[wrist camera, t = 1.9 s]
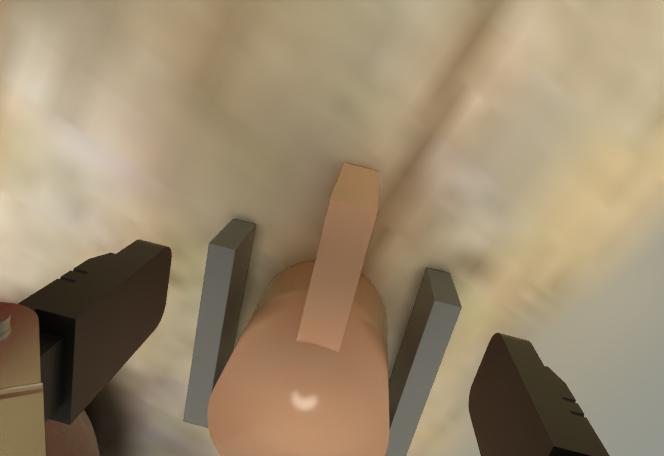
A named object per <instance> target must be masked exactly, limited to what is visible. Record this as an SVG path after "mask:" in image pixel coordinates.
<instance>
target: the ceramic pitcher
mask: <svg viewBox="0 0 664 456" xmlns="http://www.w3.org/2000/svg"><path fill="white" fill-rule="evenodd" d="M44 425H45V451H46V456H100V454H99V449H98V444H97V440H96V436H95V433H94V429H93V426H92V424H91V421H90V420H89V418H88V416H87V414H86V412H85V410H83V411H82V412H81V414H80V415H79V416H78V417H77V418H76V419H75V420H74V421H73V423H72V424H71V425H68V424H64V423H61V422H57V421H53V420H49V419H47V420H46V421H45V422H44Z"/></svg>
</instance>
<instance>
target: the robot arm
mask: <svg viewBox="0 0 664 456" xmlns="http://www.w3.org/2000/svg"><path fill="white" fill-rule="evenodd" d="M171 257H172V253H171V249H170V248H169V247H167V246H163V245H159V244H155V243H151V242H147V241H143V240H136V241H135V242H133V243H132V244H130V245H129V246H127V247H126V248H124V249H123V250H121V251H120V252H118V253H117V254H113V253H108V254H105V255H101V256H98V257H94V258H91V259H88V260H87V261H85V262H83V263H82V264H80V265H79V266H77V267H75V268H74V270H73V271H69V272H68V273H66V274H64V275H63V276H61V278H60V279H56V280H55V281H53V282H52V283H50V284H48V285H47V286H45V287H44V288H42V289H40V290H39V291H37V292H36V293H34V294H33V295H31V296H29V297H28V298H26V299H25V300H23V301H21V302H20V303H18V304H14V303H5V302H0V456H46V451H45V425H44V422H45V421H46V420H47V419H49V420H53V421H57V422H61V423H64V424H68V425H71V424H72V423H73V421H74V420H75V419H76V418H77V417H78V416H79V415H80V414H81V412H82V411H83V410H84V409H85V408H86V407H87V406H88V404H89V403H90V402H91V401H92V400H93V399H94V398H95V397H96V395H97V394H98V393H99V392H100V391H101V390H102V389H103V388H104V386H105V385H106V384H107V383H108V382H109V381H110V380H111V379H112V377H113V376H114V375H115V374H116V373H117V372H118V371H119V370H120V368H121V367H122V366H123V365H124V364H125V363H126V362H127V361H128V359H129V358H130V357H131V356H132V355H133V354H134V353H135V351H136V350H137V349H138V348H139V347H140V346H141V345H142V344H143V342H144V341H145V340H146V339H147V338H148V337H149V336H150V335H151V333H152V332H153V331H154V330H155V329H156V327H157V326H158V324H159V322H160V320H161V318H162V316H163V313H164V309H165V305H166V298H167V290H168V282H169V274H170V266H171ZM575 401H576V400H575V398H574V396H573V395H572V393H571V392H570V390H569V389H568V387H567V385H566V384H565V382H563V381H562V380H561V379H560V378H559V377H558V376H557V375H556V374H555V373H554V372H553V371H552V370H551V369H550V368H549V367H546V366H544V365H543V363H542V361H541V360H540V358H539V356H538V354H537V353H536V351H535V349H534V347H533V345H532V344H531V342H529V341H527V340H523V339H520V338H516V337H512V336H508V335H504V334H500V333H496V334H494V335H493V337H492V338H491V340H490V342H489V344H488V347H487V349H486V352H485V354H484V357H483V359H482V362H481V364H480V366H479V369H478V371H477V374H476V376H475V379H474V381H473V384H472V386H471V390H470V395H469V413H470V417H471V420H472V424H473V428H474V432H475V435H476V439H477V443H478V447H479V450H480V454H481V456H609V454H608V453H607V451H606V449H605V448H604V446H603V444H602V443H601V441H600V439H599V438H598V436H597V434H596V433H595V431H594V429H593V428H592V426H591V425H590V423H589V421H588V420H587V418H585V417H584V413H583V411H582V410H581V408H580V406H579V405H578V404H577V403H575Z"/></svg>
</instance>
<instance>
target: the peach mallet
mask: <svg viewBox="0 0 664 456" xmlns="http://www.w3.org/2000/svg"><path fill="white" fill-rule="evenodd" d="M378 192H379V171H375V170H371V169H367V168H363V167H359V166H355V165H351V164H347V163H344V165H343V167H342V170H341V172H340V175H339V177H338V180H337V182H336V185H335V187H334V190H333V192H332V195H331V197H330V201H329V205H328V209H327V213H326V218H325V222H324V226H323V230H322V235H321V239H320V243H319V247H318V252H317V256H316V260H315V261H309V262H304V263H300V264H297V265H294V266H292V267H290V268H287V269H286V270H284V271H283V272H281V273H280V274H279V275H277V276H276V277H275V278H274V279H273V280H272V281H271V282H270V284H269V285H268V287H267V288H266V290H265V292H264V293H263V295H262V297H261V299H260V301H259V303H258V305H257V307H256V309H255V311H254V312H253V314H252V316H251V318H250V320H249V322H248V324H247V326H246V328H245V330H244V332H243V333H242V335H241V337H240V339H239V341H238V343H237V345H236V347H235V349H234V351H233V353H232V354H231V356H230V358H229V360H228V362H227V364H226V366H225V368H224V370H223V372H222V373H221V375H220V377H219V379H218V381H217V383H216V385H215V387H214V389H213V391H212V394H211V396H210V399H209V403H208V411H207V420H208V427H209V432H210V435H211V438H212V440H213V443H214V445H215V447H216V448H217V450H218V452H219V453H220V455H221V456H385V454H386V451H387V447H388V443H389V433H390V432H389V388H388V344H387V315H386V310H385V306H384V303H383V300H382V298H381V296H380V294H379V293H378V291H377V290H376V288H375V287H374V286H373V285H372V284H371V283H370V281H369V280H368V279H366V278H365V277H364V276H363V275H361V270H362V267H363V263H364V260H365V256H366V252H367V249H368V245H369V242H370V238H371V234H372V231H373V227H374V224H375V220H376V216H377V213H378Z"/></svg>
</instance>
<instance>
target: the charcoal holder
mask: <svg viewBox="0 0 664 456" xmlns="http://www.w3.org/2000/svg"><path fill="white" fill-rule="evenodd" d="M255 227H256V224H252V223H248V222H244V221H240V220H236V219H233V220H232V221H231V222H230V223H229V224H228V225H227V226H226V227H225V228H224V229H223V230H222V231H221V232H220V233H219V234H218V235H217V236H216V237H215V238H214V239H213V240H212V241H211V242H210V243H209V247H208V254H207V261H206V268H205V275H204V282H203V289H202V296H201V303H200V310H199V316H198V323H197V330H196V337H195V344H194V351H193V358H192V365H191V372H190V379H189V385H188V392H187V399H186V406H185V413H184V420H183V421H184V422H188V423H191V424H195V425H199V426H203V427H207V428H209V427H208V420H207V411H208V403H209V399H210V396H211V394H212V391H213V389H214V387H215V385H216V383H217V381H218V379H219V377H220V375H221V373H222V372H223V370H224V368H225V366H226V364H227V362H228V360H229V358H230V356H231V354H232V353H233V348H234V343H235V337H236V332H237V326H238V321H239V315H240V309H241V304H242V298H243V293H244V287H245V282H246V276H247V271H248V265H249V260H250V254H251V249H252V243H253V238H254V232H255ZM460 310H461V304H460V301H459V298H458V295H457V292H456V289H455V286H454V284H453V281H452V278H451V275H450V273H446V272H442V271H438V270H434V269H430V268H427V269H426V272H425V275H424V278H423V281H422V284H421V287H420V290H419V293H418V296H417V299H416V302H415V305H414V308H413V311H412V314H411V318H410V321H409V324H408V327H407V330H406V333H405V336H404V339H403V342H402V345H401V348H400V351H399V354H398V357H397V360H396V363H395V366H394V369H393V372H392V375H391V378H390V381H389V384H388V388H389V432H390V433H389V443H388V447H387V451H386V454H385V456H406V454H407V452H408V449H409V446H410V444H411V441H412V438H413V436H414V433H415V430H416V428H417V425H418V422H419V420H420V417H421V414H422V412H423V409H424V406H425V404H426V401H427V398H428V396H429V393H430V390H431V388H432V385H433V382H434V380H435V377H436V374H437V372H438V369H439V366H440V364H441V361H442V358H443V355H444V353H445V350H446V347H447V345H448V342H449V339H450V337H451V334H452V331H453V329H454V326H455V323H456V321H457V318H458V315H459V313H460Z"/></svg>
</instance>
